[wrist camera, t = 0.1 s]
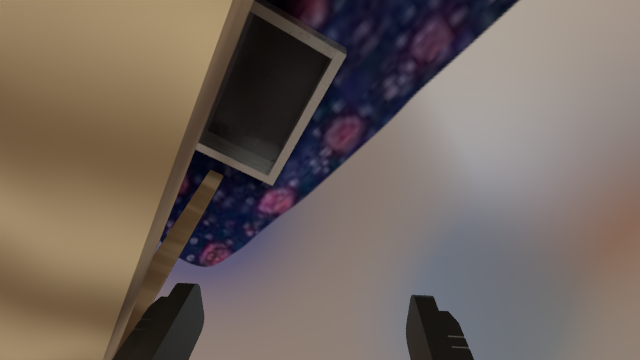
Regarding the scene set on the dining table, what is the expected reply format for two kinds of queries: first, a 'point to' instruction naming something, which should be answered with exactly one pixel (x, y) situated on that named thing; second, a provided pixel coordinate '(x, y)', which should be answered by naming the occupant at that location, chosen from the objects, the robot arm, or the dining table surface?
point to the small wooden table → (99, 161)
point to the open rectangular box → (269, 92)
